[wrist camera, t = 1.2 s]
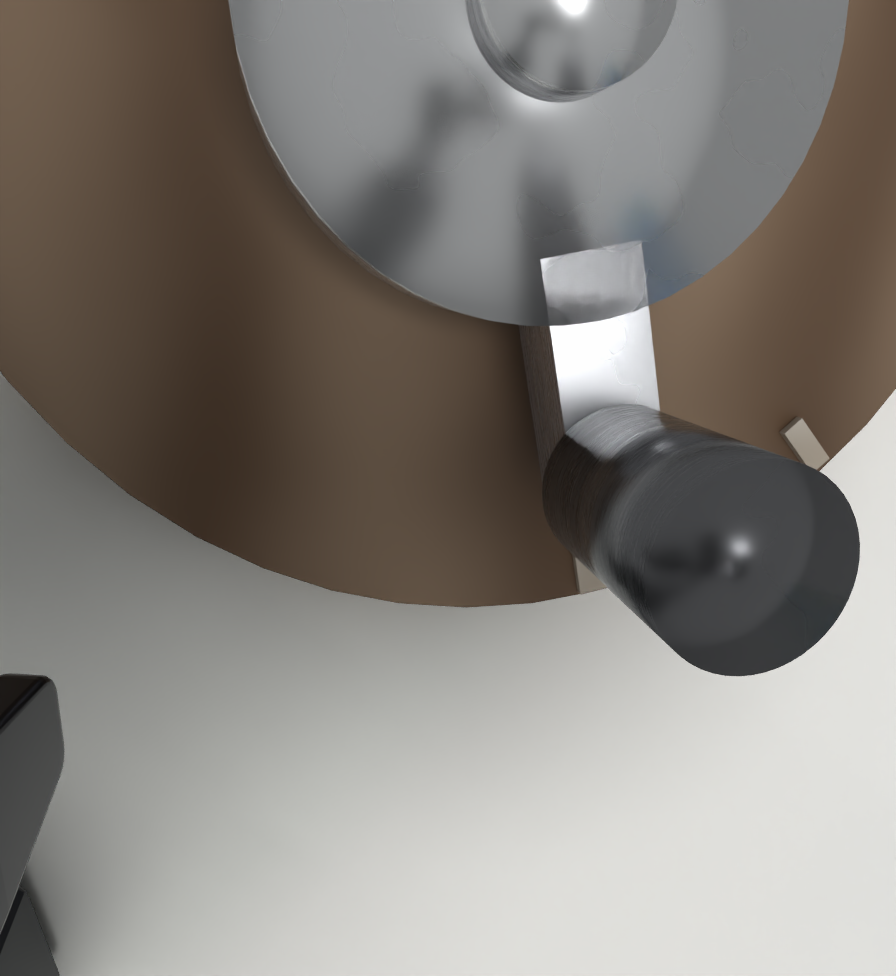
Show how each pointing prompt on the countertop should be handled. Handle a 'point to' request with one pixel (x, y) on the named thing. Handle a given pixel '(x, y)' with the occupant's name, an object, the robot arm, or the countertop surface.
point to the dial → (584, 254)
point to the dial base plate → (373, 318)
